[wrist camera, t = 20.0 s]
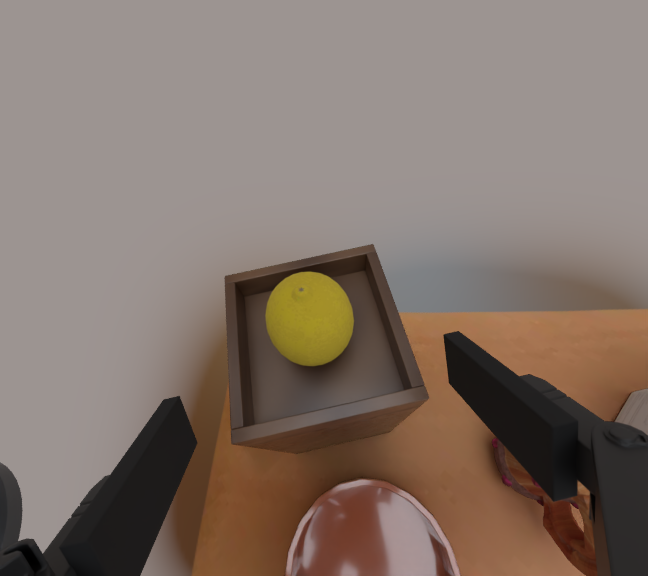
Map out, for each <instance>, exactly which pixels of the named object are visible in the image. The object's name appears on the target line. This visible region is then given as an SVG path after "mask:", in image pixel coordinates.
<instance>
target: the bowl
mask: <svg viewBox="0 0 648 576" xmlns="http://www.w3.org/2000/svg"><path fill="white" fill-rule="evenodd" d="M285 576H461V574H460V571H459V568H458V565H457V562H456V558H455V555H454V552H453V549H452V546H451V544H450V542H449V541H448V539H447V537H446V536H445V534H444V532H443V531H442V529H441V527H440V526H439V524H438V523H437V521H436V519H435V518H434V516H433V515H432V514H431V513H430V512H429V511H428V510H427V509H426V508H425V507H424V506H423V505H422V504H421V503H420V502H419V501H418V500H417V499H416V498H415V497H414V496H413V495H411V494H410V493H408V492H406V491H404V490H402V489H400V488H398V487H396V486H395V485H393V484H391V483H389V482H387V481H385V480H380V479H373V478H365V477H359V478H355V479H350V480H347V481H342V482H339V483H338V484H336V485H335V486H333V487H332V488H331V489H329V490H328V491H326V492H325V493H323V494H322V495H321V496H320V497H318V498H317V500H316V501H315V502H314V503H313V505H312V506H311V507H310V509H309V510H308V511H307V513H306V514H305V515H304V516H303V518H302V519H301V520H300V522H299V525H298V527H297V530H296V532H295V535H294V537H293V540H292V543H291V545H290V548H289V551H288V556H287V564H286V571H285Z"/></svg>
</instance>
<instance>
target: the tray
mask: <svg viewBox="0 0 648 576" xmlns="http://www.w3.org/2000/svg"><path fill="white" fill-rule="evenodd" d="M300 272H316V273H321V274H323V275H326V276H328V277H330V278H331V279H332V280H334V281H335V282H337V283H338V284H339V285H340V287H341V288H342V289H343V290H344V292H345V293H346V295H347V297H348V299H349V301H350V304H351V306H352V310H353V317H354V325H353V333H352V336H351V338H350V341H349V343H348V345H347V347H346V348H345V349H344V350H343V352H342V353H341V354H340V355H339V356H337V357H336V358H335V359H334V360H332V361H330V362H328V363H326V364H323V365H318V366H303V365H300V364H297V363H294V362H292V361H290V360H288V359H287V358H286V357H284V356H283V355H282V354H281V353H280V352H279V351H278V350H277V348H276V347H275V346H274V345H273V343H272V341H271V339H270V336H269V334H268V331H267V326H266V316H265V315H266V308H267V302H268V300H269V297H270V295H271V293H272V291H273V290H274V289H275V287H276V286H277V285H278V284H279V283H280V282H281V281H283V280H284V279H285V278H287V277H289V276H291V275H293V274H296V273H300ZM225 297H226V299H225V300H226V322H227V347H228V370H229V394H230V418H231V429H232V430H231V443H232V444H234V445H240V446H247V447H248V446H252V445H256V444H261V443H265V442H269V441H274V440H278V439H282V438H287V437H291V436H295V435H300V434H304V433H308V432H312V431H317V430H321V429H325V428H330V427H334V426H338V425H343V424H347V423H351V422H356V421H360V420H364V419H369V418H373V417H377V416H381V415H386V414H390V413H394V412H399V411H403V410H407V409H412V408H416V407H420V406H421V405H422V404H423V403H424V402H426V401H427V400H428V399H429V396H428V393H427V391H426V388H425V386H424V382H423V379H422V377H421V374H420V371H419V368H418V366H417V363H416V360H415V357H414V355H413V352H412V349H411V346H410V344H409V341H408V338H407V335H406V333H405V330H404V327H403V324H402V322H401V319H400V316H399V313H398V310H397V308H396V305H395V302H394V300H393V297H392V294H391V291H390V288H389V286H388V283H387V280H386V277H385V275H384V272H383V269H382V266H381V264H380V261H379V258H378V255H377V253H376V250H375V248H374V245H373V244H371V245H367V246H362V247H357V248H353V249H348V250H344V251H339V252H335V253H330V254H325V255H321V256H316V257H311V258H306V259H302V260H297V261H292V262H288V263H283V264H279V265H274V266H270V267H265V268H260V269H255V270H251V271H246V272H242V273H237V274H232V275H228V276H225Z"/></svg>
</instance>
